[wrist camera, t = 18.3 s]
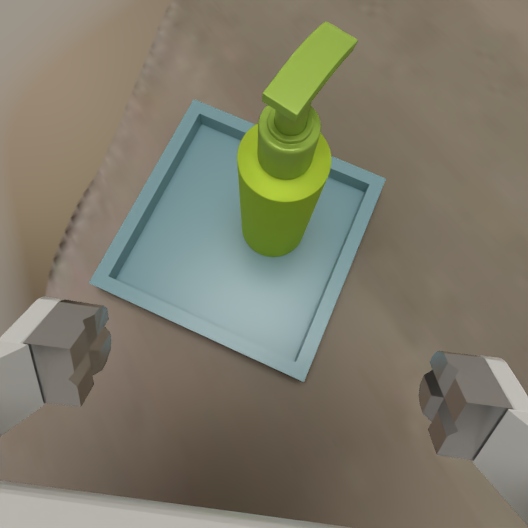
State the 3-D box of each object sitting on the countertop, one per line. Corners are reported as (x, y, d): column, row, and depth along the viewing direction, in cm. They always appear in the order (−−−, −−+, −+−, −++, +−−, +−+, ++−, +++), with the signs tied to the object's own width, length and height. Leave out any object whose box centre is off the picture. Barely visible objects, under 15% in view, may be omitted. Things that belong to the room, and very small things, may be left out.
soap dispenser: (321, 212, 37) (398, 53, 18) (280, 269, 36) (315, 163, 16) (271, 178, 38) (293, -10, 19) (229, 233, 37) (204, 91, 17)
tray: (300, 380, 34) (303, 382, 32) (99, 288, 36) (88, 282, 33) (377, 189, 39) (385, 178, 37) (197, 114, 40) (193, 99, 38)
